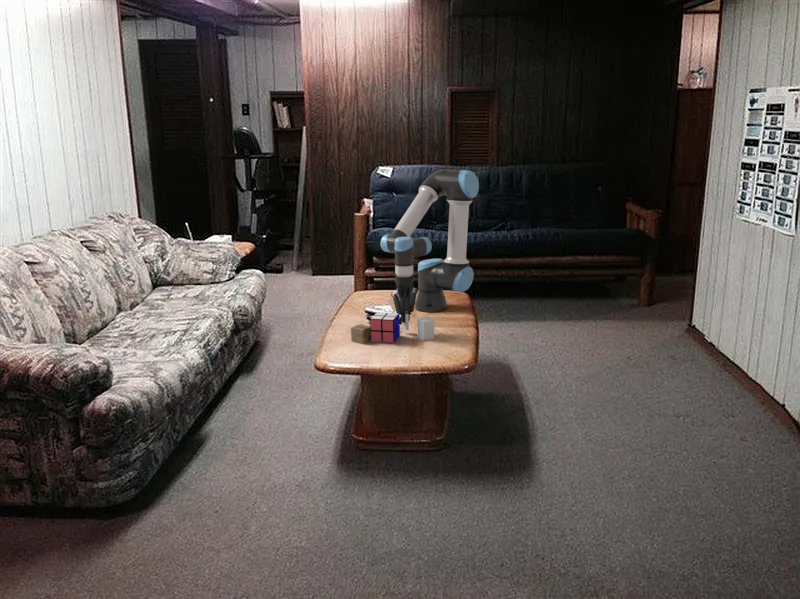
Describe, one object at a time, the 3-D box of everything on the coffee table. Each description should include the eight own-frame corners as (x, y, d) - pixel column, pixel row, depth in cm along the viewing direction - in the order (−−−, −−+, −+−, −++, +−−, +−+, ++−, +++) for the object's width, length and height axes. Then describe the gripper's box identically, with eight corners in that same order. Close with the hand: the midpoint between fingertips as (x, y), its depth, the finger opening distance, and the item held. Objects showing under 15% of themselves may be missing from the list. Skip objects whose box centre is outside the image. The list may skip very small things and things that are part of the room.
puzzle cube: (394, 343, 294) (393, 320, 291) (370, 342, 296) (369, 318, 293) (400, 335, 303) (399, 313, 300) (377, 334, 306) (376, 311, 303)
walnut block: (360, 337, 302) (360, 323, 301) (372, 340, 299) (371, 326, 297) (351, 341, 298) (350, 327, 296) (362, 344, 294) (362, 330, 293)
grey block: (428, 335, 303) (428, 317, 301) (434, 338, 299) (434, 320, 297) (417, 337, 301) (417, 319, 299) (423, 340, 297) (423, 322, 295)
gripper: (410, 270, 305) (411, 324, 312) (386, 275, 298) (387, 330, 304) (422, 273, 300) (422, 328, 306) (397, 278, 292) (398, 334, 298)
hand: (405, 329), depth 305 cm, fingers closed
